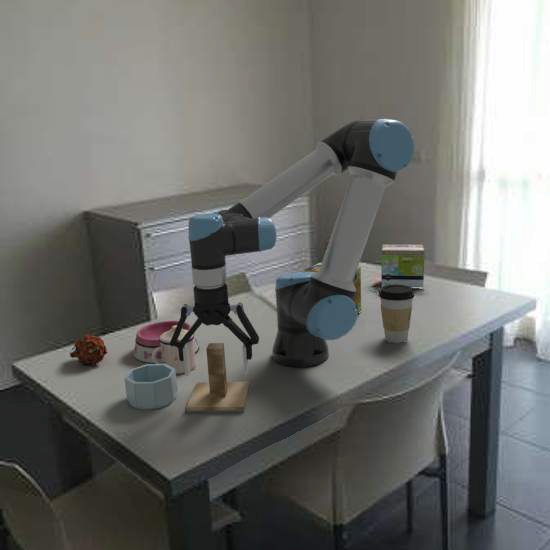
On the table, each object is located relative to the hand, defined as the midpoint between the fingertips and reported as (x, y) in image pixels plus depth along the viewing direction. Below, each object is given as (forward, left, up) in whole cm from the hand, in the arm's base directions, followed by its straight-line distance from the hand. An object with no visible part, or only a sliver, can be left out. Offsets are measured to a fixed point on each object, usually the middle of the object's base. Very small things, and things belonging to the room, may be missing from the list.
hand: (217, 372), depth 142 cm
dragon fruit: (+40, -24, -7) cm, 47 cm away
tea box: (-54, -90, -7) cm, 105 cm away
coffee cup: (-46, -36, -7) cm, 58 cm away
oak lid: (0, 0, -6) cm, 6 cm away
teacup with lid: (+14, -18, -7) cm, 24 cm away
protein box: (-28, -60, -7) cm, 67 cm away
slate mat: (0, 0, -7) cm, 7 cm away
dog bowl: (+20, -31, -7) cm, 37 cm away
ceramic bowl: (+16, -1, -7) cm, 17 cm away
